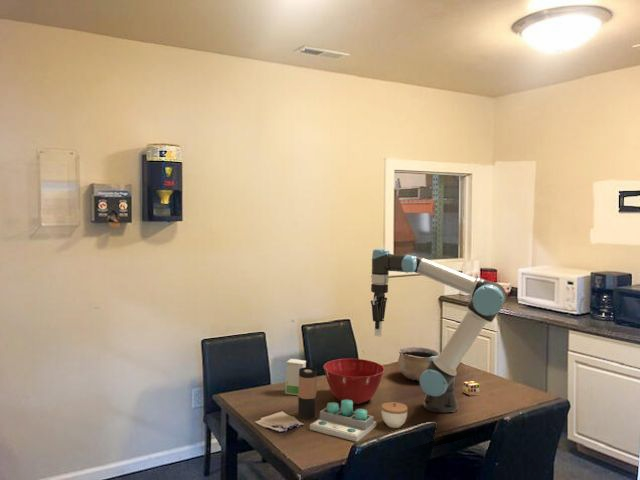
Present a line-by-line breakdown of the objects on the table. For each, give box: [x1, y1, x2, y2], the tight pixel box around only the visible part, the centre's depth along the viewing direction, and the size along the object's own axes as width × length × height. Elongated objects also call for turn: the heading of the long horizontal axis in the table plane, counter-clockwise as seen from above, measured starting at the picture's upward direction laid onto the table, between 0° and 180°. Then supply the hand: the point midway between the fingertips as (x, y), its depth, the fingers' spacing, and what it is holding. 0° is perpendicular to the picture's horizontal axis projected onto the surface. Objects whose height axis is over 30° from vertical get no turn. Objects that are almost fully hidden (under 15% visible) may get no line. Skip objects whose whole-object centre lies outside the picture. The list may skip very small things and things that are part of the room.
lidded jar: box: [381, 401, 408, 429], centre depth 220 cm, size 11×11×9 cm
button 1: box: [354, 408, 368, 421], centre depth 214 cm, size 5×5×5 cm
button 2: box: [340, 400, 354, 416], centre depth 217 cm, size 5×5×5 cm
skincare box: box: [284, 358, 307, 396], centre depth 256 cm, size 8×7×16 cm
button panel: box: [309, 406, 377, 443], centre depth 215 cm, size 21×18×5 cm
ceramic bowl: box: [397, 346, 441, 382], centre depth 283 cm, size 22×22×15 cm
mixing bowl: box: [322, 358, 385, 405], centre depth 249 cm, size 28×28×16 cm
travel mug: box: [297, 366, 318, 420], centre depth 227 cm, size 8×8×20 cm
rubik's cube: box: [462, 380, 481, 393], centre depth 262 cm, size 6×6×6 cm
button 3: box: [326, 401, 340, 414], centre depth 221 cm, size 5×5×5 cm
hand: (377, 335), depth 239 cm, fingers closed
